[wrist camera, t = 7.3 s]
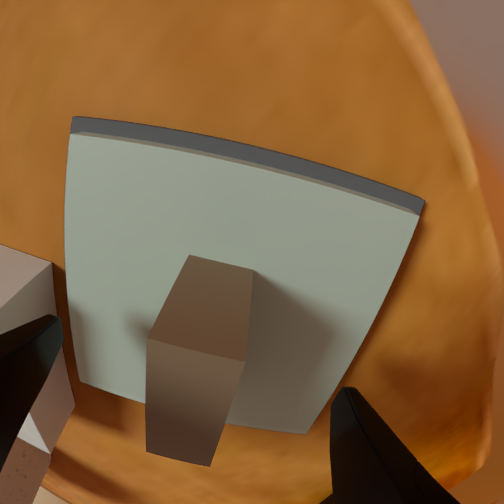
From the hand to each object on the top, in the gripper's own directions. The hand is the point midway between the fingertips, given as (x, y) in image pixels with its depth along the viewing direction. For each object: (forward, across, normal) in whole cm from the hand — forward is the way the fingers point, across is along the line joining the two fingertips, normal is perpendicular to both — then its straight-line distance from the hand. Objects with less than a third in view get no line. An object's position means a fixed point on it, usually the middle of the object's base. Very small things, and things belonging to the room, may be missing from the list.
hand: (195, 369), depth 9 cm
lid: (+3, 0, 0) cm, 3 cm away
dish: (+3, +12, +5) cm, 13 cm away
